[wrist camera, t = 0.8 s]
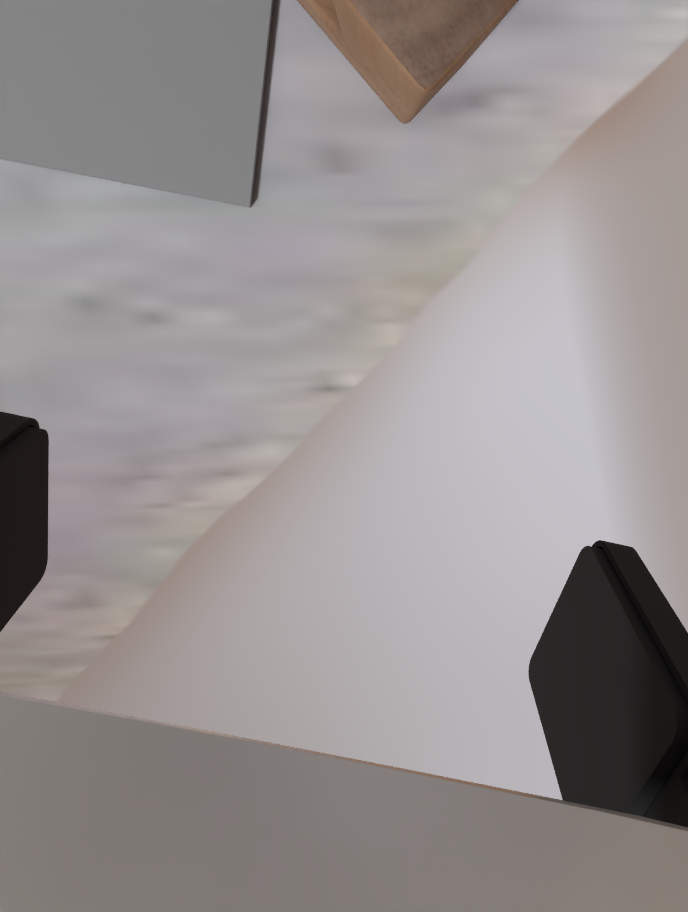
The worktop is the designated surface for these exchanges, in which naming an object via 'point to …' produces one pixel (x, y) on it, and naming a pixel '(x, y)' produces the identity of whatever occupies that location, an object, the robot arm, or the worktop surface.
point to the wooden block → (407, 42)
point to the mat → (137, 91)
